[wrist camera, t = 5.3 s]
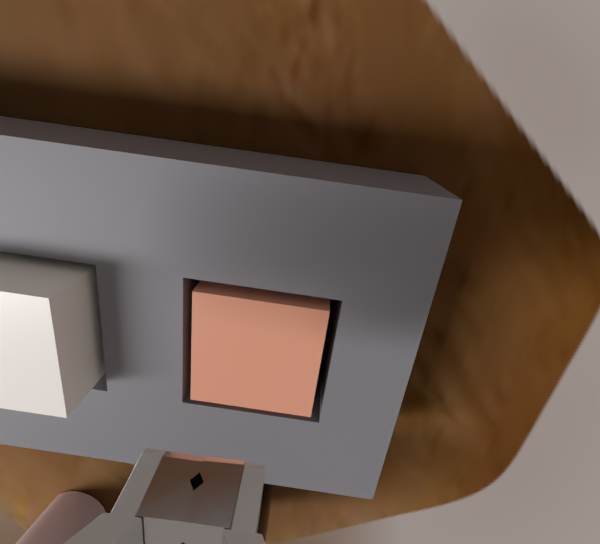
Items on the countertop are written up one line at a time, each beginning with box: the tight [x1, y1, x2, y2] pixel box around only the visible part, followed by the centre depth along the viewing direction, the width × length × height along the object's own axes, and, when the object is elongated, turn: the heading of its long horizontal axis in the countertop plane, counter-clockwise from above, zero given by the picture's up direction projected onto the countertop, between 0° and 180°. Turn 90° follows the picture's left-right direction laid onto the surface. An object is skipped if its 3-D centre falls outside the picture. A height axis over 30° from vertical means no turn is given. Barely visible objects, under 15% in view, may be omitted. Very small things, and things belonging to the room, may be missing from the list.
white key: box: [0, 251, 106, 418], centre depth 15 cm, size 5×5×4 cm
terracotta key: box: [190, 280, 330, 417], centre depth 17 cm, size 5×5×4 cm
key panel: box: [0, 116, 463, 500], centre depth 17 cm, size 30×14×5 cm, turn 83°
